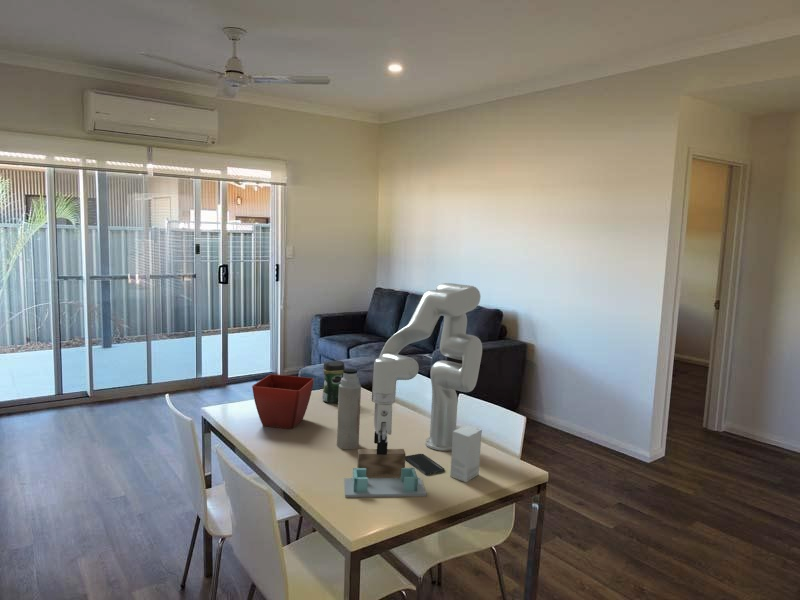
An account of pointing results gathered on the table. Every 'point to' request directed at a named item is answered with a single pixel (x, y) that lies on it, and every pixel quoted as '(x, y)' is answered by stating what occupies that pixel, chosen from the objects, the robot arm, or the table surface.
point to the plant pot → (282, 399)
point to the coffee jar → (332, 380)
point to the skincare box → (465, 453)
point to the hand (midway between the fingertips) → (380, 448)
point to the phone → (424, 464)
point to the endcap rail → (384, 485)
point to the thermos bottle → (349, 410)
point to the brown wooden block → (381, 461)
